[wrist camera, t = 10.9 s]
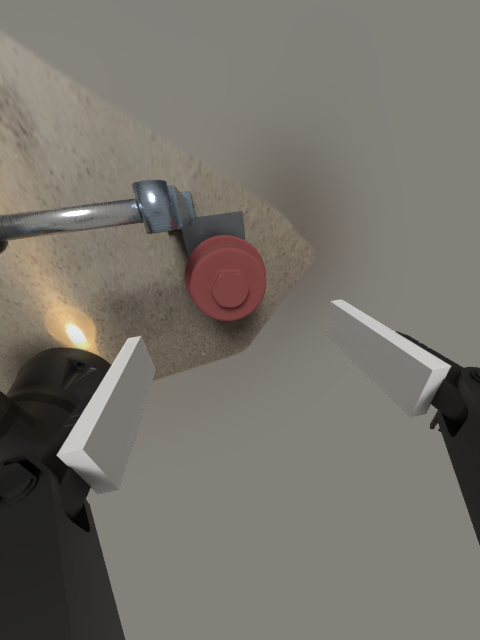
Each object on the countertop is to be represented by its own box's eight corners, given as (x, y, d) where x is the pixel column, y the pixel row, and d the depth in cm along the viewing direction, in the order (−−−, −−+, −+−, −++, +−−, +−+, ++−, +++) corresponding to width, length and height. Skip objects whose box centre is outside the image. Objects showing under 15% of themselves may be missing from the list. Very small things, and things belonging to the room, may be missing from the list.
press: (184, 295, 34) (175, 338, 22) (157, 195, 27) (122, 180, 15) (248, 285, 35) (271, 320, 23) (238, 185, 28) (263, 163, 16)
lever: (-16, 257, 16) (-68, 268, 13) (-52, 207, 14) (-123, 205, 11) (180, 230, 18) (175, 233, 14) (169, 181, 16) (160, 173, 13)
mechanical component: (253, 230, 30) (251, 293, 34) (185, 231, 28) (192, 296, 33) (281, 239, 19) (272, 328, 24) (173, 240, 18) (187, 335, 22)
